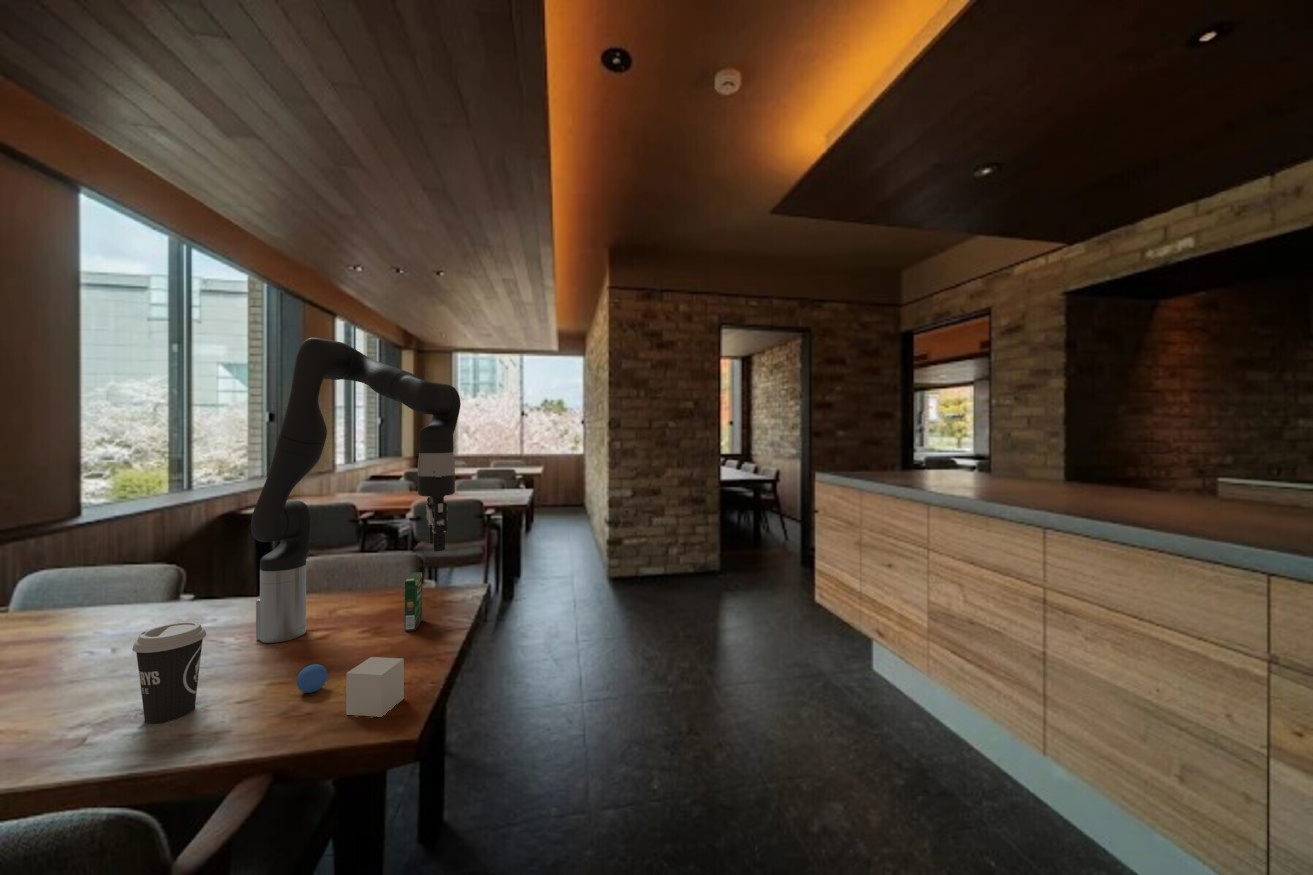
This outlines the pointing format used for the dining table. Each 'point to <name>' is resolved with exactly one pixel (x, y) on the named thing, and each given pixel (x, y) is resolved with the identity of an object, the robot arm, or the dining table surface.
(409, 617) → the coffee box
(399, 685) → the block
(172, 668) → the coffee cup
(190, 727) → the dining table surface
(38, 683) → the dining table surface
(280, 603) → the robot arm
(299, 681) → the blue egg
